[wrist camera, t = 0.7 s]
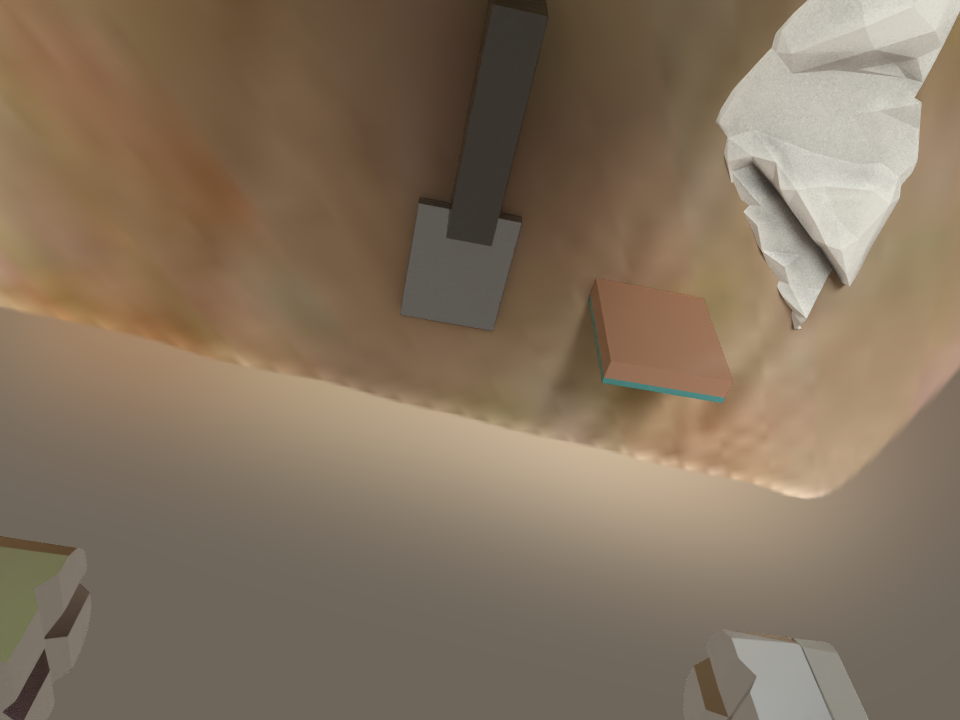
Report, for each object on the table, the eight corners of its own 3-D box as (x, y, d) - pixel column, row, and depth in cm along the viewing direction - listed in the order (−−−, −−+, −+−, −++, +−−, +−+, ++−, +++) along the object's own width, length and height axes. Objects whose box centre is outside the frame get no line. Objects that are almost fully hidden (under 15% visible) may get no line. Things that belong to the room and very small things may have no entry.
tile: (596, 278, 47) (610, 361, 41) (703, 297, 48) (733, 382, 42) (588, 299, 48) (601, 382, 42) (693, 317, 49) (722, 402, 43)
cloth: (835, -197, 32) (854, -193, 31) (1122, -120, 34) (1156, -112, 32) (635, 296, 49) (640, 317, 47) (834, 333, 50) (846, 355, 48)
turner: (457, -28, 36) (453, -5, 33) (579, 0, 37) (586, 25, 34) (401, 307, 49) (394, 346, 46) (492, 323, 49) (492, 362, 46)
